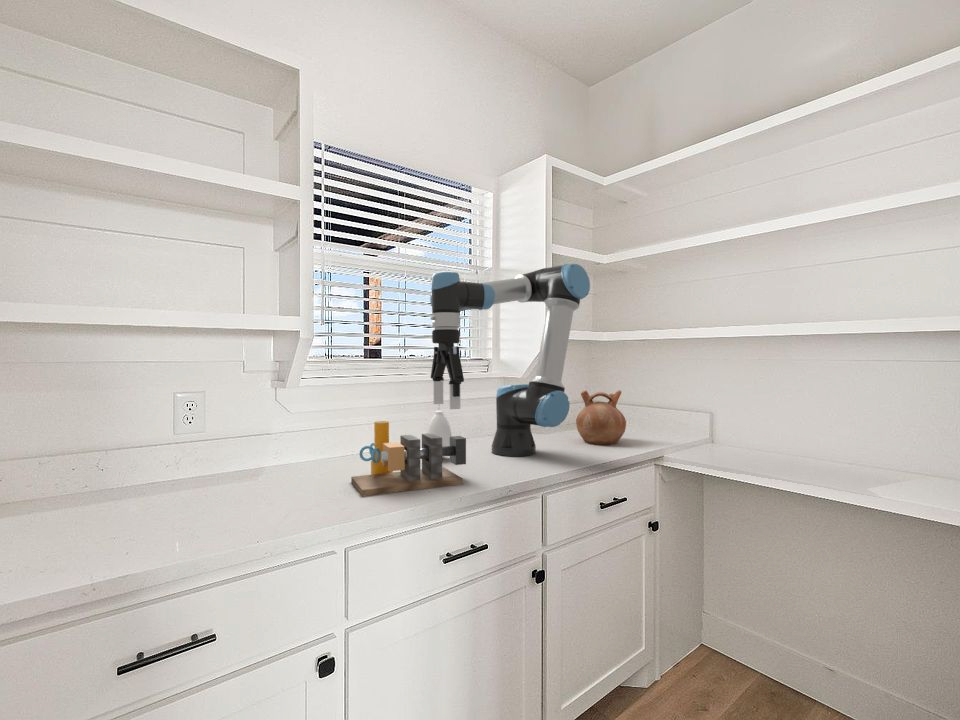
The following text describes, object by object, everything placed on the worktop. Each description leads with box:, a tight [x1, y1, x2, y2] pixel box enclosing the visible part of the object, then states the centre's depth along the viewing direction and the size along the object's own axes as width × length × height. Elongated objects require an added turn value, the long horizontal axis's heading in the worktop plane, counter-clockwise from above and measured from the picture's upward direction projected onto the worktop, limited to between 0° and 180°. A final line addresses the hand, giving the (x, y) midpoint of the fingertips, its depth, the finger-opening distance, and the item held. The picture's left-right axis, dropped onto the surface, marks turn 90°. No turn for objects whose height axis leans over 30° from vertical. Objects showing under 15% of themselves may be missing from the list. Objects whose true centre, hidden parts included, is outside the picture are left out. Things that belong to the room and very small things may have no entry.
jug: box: [575, 390, 627, 446], centre depth 191 cm, size 18×18×20 cm
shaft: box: [381, 435, 467, 466], centre depth 134 cm, size 22×4×7 cm, turn 115°
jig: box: [350, 433, 464, 497], centre depth 132 cm, size 26×14×12 cm, turn 115°
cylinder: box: [359, 420, 394, 475], centre depth 140 cm, size 12×10×15 cm
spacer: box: [383, 441, 405, 472], centre depth 131 cm, size 4×6×6 cm, turn 25°
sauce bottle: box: [426, 404, 452, 459], centre depth 163 cm, size 8×8×18 cm
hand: (446, 406), depth 138 cm, fingers open, 13 cm apart
